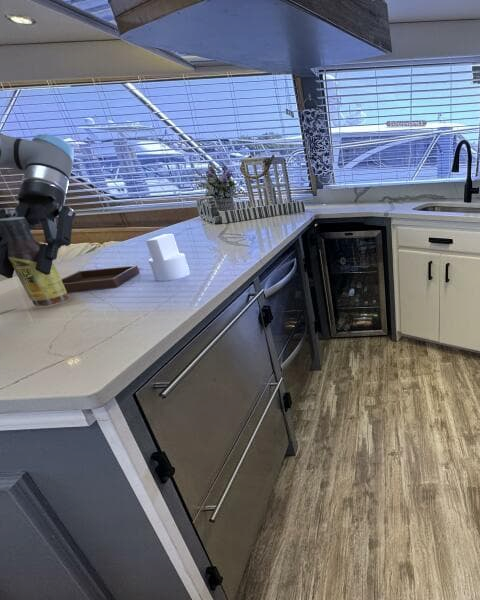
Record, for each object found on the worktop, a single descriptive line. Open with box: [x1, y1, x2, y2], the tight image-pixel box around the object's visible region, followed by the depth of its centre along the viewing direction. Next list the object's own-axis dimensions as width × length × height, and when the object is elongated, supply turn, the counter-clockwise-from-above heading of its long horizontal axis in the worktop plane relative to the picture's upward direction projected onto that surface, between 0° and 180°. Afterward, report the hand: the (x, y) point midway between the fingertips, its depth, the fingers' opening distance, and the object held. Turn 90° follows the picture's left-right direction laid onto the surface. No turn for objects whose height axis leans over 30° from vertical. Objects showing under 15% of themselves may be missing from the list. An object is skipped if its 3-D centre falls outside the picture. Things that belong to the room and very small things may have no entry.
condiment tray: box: [61, 265, 141, 294], centre depth 94 cm, size 16×14×2 cm
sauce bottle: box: [0, 217, 69, 307], centre depth 73 cm, size 6×6×20 cm
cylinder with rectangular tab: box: [145, 233, 191, 282], centre depth 95 cm, size 9×9×12 cm
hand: (23, 273), depth 70 cm, fingers closed on sauce bottle, 6 cm apart
